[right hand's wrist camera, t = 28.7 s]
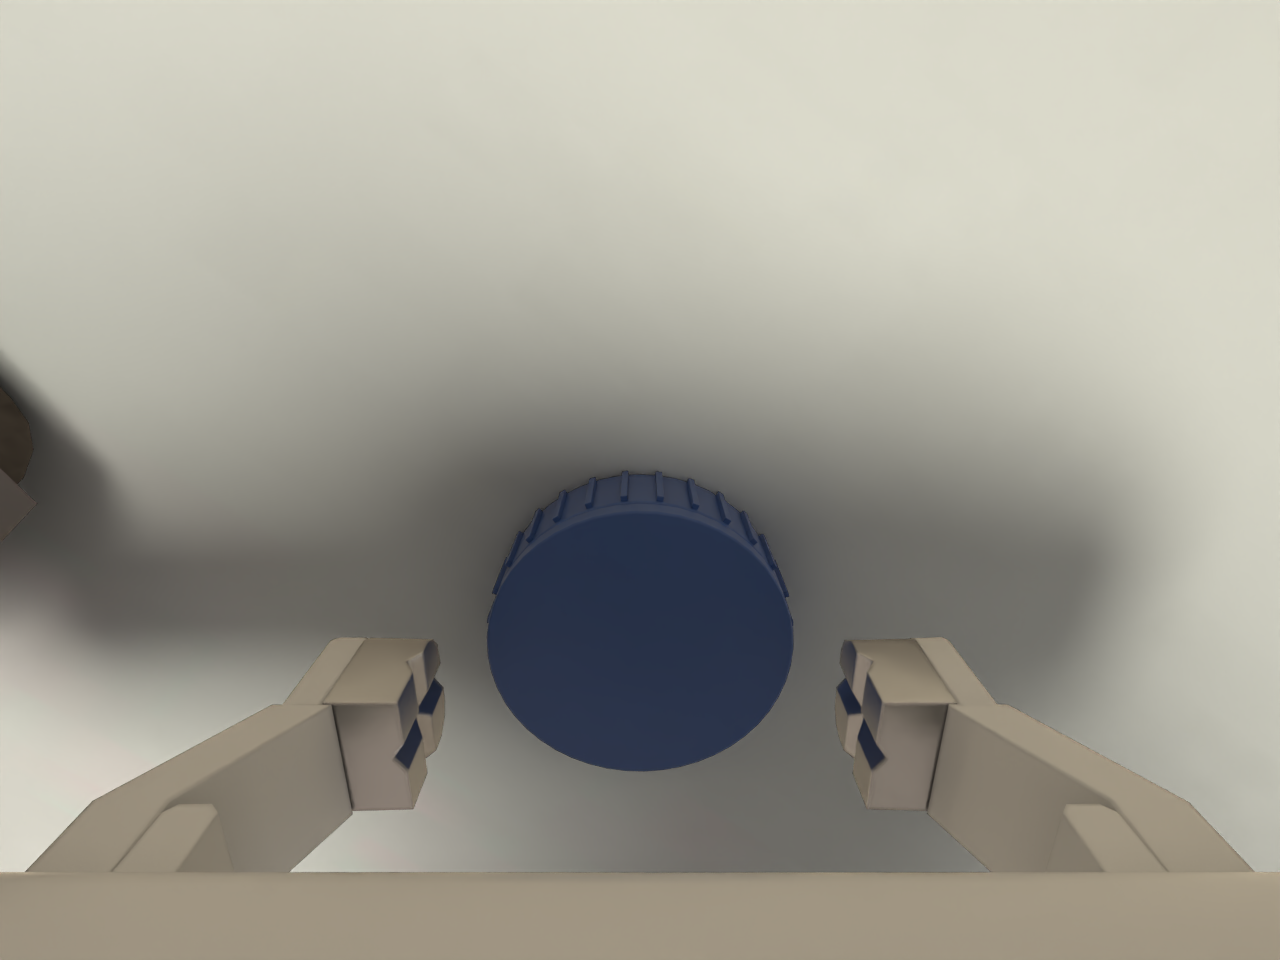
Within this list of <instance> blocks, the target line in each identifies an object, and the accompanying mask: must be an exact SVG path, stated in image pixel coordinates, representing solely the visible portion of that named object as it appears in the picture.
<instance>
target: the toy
mask: <svg viewBox="0 0 1280 960" xmlns="http://www.w3.org/2000/svg"><path fill="white" fill-rule="evenodd" d="M32 452H33V445H32V439H31V434H30V428H29V423H28V421H27V420H26V419H25V417H24V416H23V414H22V413H21V412H20V410H19V409H18V407H17V406H16V405H15V403H14V402H13V400H12V399H11V398H10V397H9V396H8V395H7V394H6V393H5V392H4V391H3V390H2V389H1V388H0V543H1V541H2V540H3V539H4V538H5V537H6V536H7V535H8V534H9V533H10V532H11V531H12V530H13V529H14V528H15V527H16V526H17V524H18V523H19V522H20V521H21V520H22V519H23V518H24V517H25V516H26V515H27V514H28V513H29V512H30V511H31V510H32V509H33V508H34V506H35V505H36V504H37V503H36V502H35V501H34V500H33V499H32V498H31V497H30V496H29V495H28V494H27V493H26V492H25V491H24V490H22V489H21V488H20V487H19V486H18V485H17V484H18V483H19V482H20V481H21V479H22V478H23V477H24V475H25V472H26V469H27V467H28V464H29V461H30V458H31V455H32Z"/></svg>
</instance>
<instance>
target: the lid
mask: <svg viewBox="0 0 1280 960" xmlns="http://www.w3.org/2000/svg"><path fill="white" fill-rule="evenodd" d="M492 594H495V595H496V597H495V600H494V602H493V605H492V607H491V610H490V613H489V615H488V618H487V623H488V631H487V652H488V659H489V664H490V669H491V672H492V675H493V678H494V681H495V683H496V686H497V688H498V690H499V692H500V694H501V696H502V698H503V700H504V702H505V703H506V705H507V706H508V707H509V709H510V710H511V711H512V713H513V714H514V716H515V717H516V718H517V719H518V720H519V721H520V722H521V723H522V724H523V725H524V726H525V727H526V728H527V729H528V730H529V731H530V732H531V733H532V734H534V735H535V736H536V737H537V738H539V739H540V740H541V741H543V742H544V743H546V744H547V745H549V746H550V747H552V748H554V749H555V750H557V751H559V752H561V753H563V754H565V755H567V756H569V757H571V758H574V759H577V760H579V761H582V762H585V763H588V764H591V765H595V766H599V767H604V768H608V769H616V770H623V771H656V770H665V769H671V768H676V767H681V766H685V765H688V764H692V763H695V762H699V761H701V760H703V759H706V758H708V757H711V756H713V755H715V754H717V753H719V752H721V751H723V750H725V749H727V748H728V747H730V746H732V745H733V744H735V743H736V742H737V741H739V740H740V739H742V738H743V737H744V736H746V735H747V734H748V733H749V732H750V731H751V730H752V729H753V728H755V727H756V726H757V725H758V724H759V723H760V721H761V720H762V719H763V718H764V717H765V716H766V714H767V713H768V712H769V711H770V709H771V708H772V706H773V705H774V703H775V702H776V700H777V699H778V697H779V695H780V693H781V691H782V689H783V686H784V684H785V682H786V679H787V676H788V673H789V669H790V666H791V661H792V654H793V627H792V626H793V620H792V617H791V614H790V611H789V608H788V605H787V602H786V599H785V598H786V597H789V594H788V591H787V588H786V586H785V583H784V581H783V578H782V576H781V573H780V571H779V568H778V566H777V563H776V561H775V560H774V558H773V556H772V553H771V551H770V548H769V546H768V543H767V541H766V538H765V537H764V535H763V534H761V535H758V534H757V533H756V531H755V530H754V528H753V527H752V526H751V523H750V520H749V517H748V515H747V513H746V512H745V511H742V512H741V513H740V512H739V511H737V510H736V509H735V508H734V507H732V506H731V505H730V504H729V503H727V502H726V501H725V499H724V495H723V494H722V493H720V492H718V493H717V494H716V495H715V494H713V493H712V492H710V491H708V490H706V489H704V488H701V487H699V486H697V485H695V482H694V480H693V479H690V478H688V481H687V482H685V481H682V480H678V479H675V478H669V477H663V476H662V472H657V471H656V473H655V475H629V473H628V471H623V472H622V476H616V477H611V478H606V479H602V480H598V481H597V480H596V478H595V477H594V478H591V479H589V484H586V485H583V486H581V487H579V488H577V489H575V490H573V491H571V492H569V493H567V492H566V491H565V490H564V491H562V492H560V494H559V498H558V499H557V500H556V501H554V502H553V503H551V504H550V505H549V506H548V507H547V508H545V509H544V510H543V511H542V510H541V509H540V508H539V509H538V510H537V511H536V512H535V514H534V517H533V520H532V522H531V524H530V525H529V526H528V527H527V528H526V530H525V531H524V533H522V532H520V531H519V532H518V534H517V535H516V538H515V540H514V543H513V545H512V548H511V551H510V553H509V556H508V557H506V559H505V561H504V564H503V566H502V569H501V571H500V574H499V576H498V579H497V581H496V584H495V586H494V589H493V592H492Z"/></svg>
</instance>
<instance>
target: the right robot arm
mask: <svg viewBox="0 0 1280 960" xmlns="http://www.w3.org/2000/svg"><path fill="white" fill-rule="evenodd" d="M439 665H440V657H439V651H438V645H437V643H436V642H435V641H434V639H405V638H336V639H333V640H331V641H330V642H329V643H328V645H327V646H326V647H325V649H324V650H323V651H322V653H321V654H320V655H319V657H318V658H317V659H316V661H315V662H314V663H313V665H312V666H311V667H310V669H309V670H308V671H307V673H306V674H305V675H304V677H303V678H302V679H301V681H300V682H299V683H298V685H297V686H296V687H295V689H294V690H293V691H292V693H291V694H290V695H289V697H288V698H287V699H286V701H285V702H284V703H283V704H281V705H270V706H269V707H267V708H265V709H263V710H261V711H259V712H257V713H256V714H254V715H252V716H250V717H248V718H246V719H244V720H243V721H241V722H239V723H237V724H235V725H233V726H231V727H229V728H228V729H226V730H224V731H222V732H220V733H218V734H216V735H215V736H213V737H211V738H209V739H207V740H205V741H203V742H202V743H200V744H198V745H196V746H194V747H192V748H190V749H189V750H187V751H185V752H183V753H181V754H179V755H177V756H175V757H174V758H172V759H170V760H168V761H166V762H164V763H162V764H161V765H159V766H157V767H155V768H153V769H151V770H149V771H148V772H146V773H144V774H142V775H140V776H138V777H136V778H135V779H133V780H131V781H129V782H127V783H125V784H123V785H121V786H120V787H118V788H116V789H114V790H112V791H110V792H108V793H107V794H105V795H103V796H101V797H99V798H97V799H95V800H94V801H92V802H91V803H90V804H89V805H88V806H87V807H86V808H85V809H84V811H83V812H82V813H81V814H80V815H79V816H78V817H77V818H76V819H75V820H74V821H73V822H72V823H71V824H70V825H69V826H68V827H67V828H66V829H65V830H64V831H63V833H62V834H61V835H60V836H59V837H58V838H57V839H56V840H55V841H54V842H53V843H52V844H51V845H50V846H49V847H48V848H47V849H46V850H45V851H44V852H43V854H42V855H41V856H40V857H39V858H38V859H37V860H36V861H35V862H34V863H33V864H32V865H31V866H30V867H29V868H28V869H27V870H26V871H25V872H0V960H1280V872H1255V871H1254V870H1253V869H1252V868H1251V867H1250V866H1249V865H1248V864H1247V863H1246V862H1245V861H1244V860H1243V859H1242V858H1241V857H1240V856H1239V855H1238V854H1237V852H1236V851H1235V850H1234V849H1233V848H1232V847H1231V846H1230V845H1229V844H1228V843H1227V842H1226V841H1225V840H1224V839H1223V838H1222V837H1221V836H1220V835H1219V833H1218V832H1217V831H1216V830H1215V829H1214V828H1213V827H1212V826H1211V825H1210V824H1209V823H1208V822H1207V821H1206V820H1205V819H1204V818H1203V817H1202V816H1201V814H1200V813H1199V812H1198V811H1197V810H1196V809H1195V808H1194V807H1193V806H1192V805H1191V804H1190V803H1189V802H1188V801H1186V800H1184V799H1182V798H1180V797H1178V796H1176V795H1175V794H1173V793H1171V792H1169V791H1167V790H1165V789H1163V788H1162V787H1160V786H1158V785H1156V784H1154V783H1152V782H1151V781H1149V780H1147V779H1145V778H1143V777H1141V776H1139V775H1138V774H1136V773H1134V772H1132V771H1130V770H1128V769H1126V768H1125V767H1123V766H1121V765H1119V764H1117V763H1115V762H1113V761H1112V760H1110V759H1108V758H1106V757H1104V756H1102V755H1100V754H1099V753H1097V752H1095V751H1093V750H1091V749H1089V748H1087V747H1086V746H1084V745H1082V744H1080V743H1078V742H1076V741H1074V740H1073V739H1071V738H1069V737H1067V736H1065V735H1063V734H1061V733H1060V732H1058V731H1056V730H1054V729H1052V728H1050V727H1048V726H1047V725H1045V724H1043V723H1041V722H1039V721H1037V720H1035V719H1034V718H1032V717H1030V716H1028V715H1026V714H1024V713H1022V712H1021V711H1019V710H1017V709H1015V708H1013V707H1011V706H1009V705H998V704H997V703H996V702H995V701H994V699H993V698H992V697H991V695H990V694H989V693H988V691H987V690H986V689H985V687H984V686H983V685H982V684H981V682H980V681H979V680H978V678H977V677H976V676H975V674H974V673H973V672H972V670H971V669H970V668H969V666H968V665H967V664H966V662H965V661H964V660H963V658H962V657H961V656H960V654H959V653H958V652H957V650H956V649H955V648H954V646H953V645H952V644H951V642H950V641H949V640H947V639H945V638H943V637H933V638H910V639H873V640H845V641H844V643H843V646H842V649H841V655H840V665H841V668H842V670H843V672H844V674H845V677H846V678H845V679H844V680H843V681H842V682H841V683H840V684H839V685H838V686H837V687H836V698H835V717H836V726H837V731H838V735H839V739H840V742H841V744H842V747H843V750H844V751H845V752H847V753H848V754H849V755H851V756H852V757H853V758H854V766H853V776H854V778H855V781H856V783H857V786H858V788H859V791H860V793H861V796H862V798H863V801H864V803H865V806H866V808H867V809H878V810H913V811H928V812H927V814H928V815H929V816H930V817H931V818H932V819H933V820H935V821H936V822H937V823H938V824H939V825H940V826H941V827H942V828H943V829H944V830H946V831H947V832H948V833H949V834H950V835H951V836H952V837H953V838H954V839H955V840H957V841H958V842H959V843H960V844H961V845H962V846H963V847H964V848H965V849H966V850H967V851H969V852H970V853H971V854H972V855H973V856H974V857H975V858H976V859H977V860H978V861H980V862H981V863H982V864H983V865H984V866H985V867H986V868H987V869H988V870H989V871H991V872H290V871H291V870H292V869H293V868H294V867H295V866H296V865H297V864H298V863H300V862H301V861H302V860H303V859H304V858H305V857H306V856H307V855H308V854H309V853H311V852H312V851H313V850H314V849H315V848H316V847H317V846H318V845H319V844H320V843H322V842H323V841H324V840H325V839H326V838H327V837H328V836H329V835H330V834H331V833H333V832H334V831H335V830H336V829H337V828H338V827H339V826H340V825H341V824H342V823H344V822H345V821H346V820H347V819H348V818H349V817H350V816H351V815H352V811H366V810H401V809H413V808H414V806H415V803H416V801H417V798H418V796H419V793H420V791H421V788H422V785H423V783H424V780H425V778H426V775H427V766H426V759H425V758H427V757H428V756H429V755H431V754H432V753H433V752H435V751H436V749H437V747H438V744H439V741H440V738H441V736H442V730H443V724H444V718H445V697H444V688H443V686H442V685H441V684H440V683H439V682H438V681H437V680H436V679H435V678H434V676H435V674H436V672H437V670H438V667H439Z"/></svg>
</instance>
